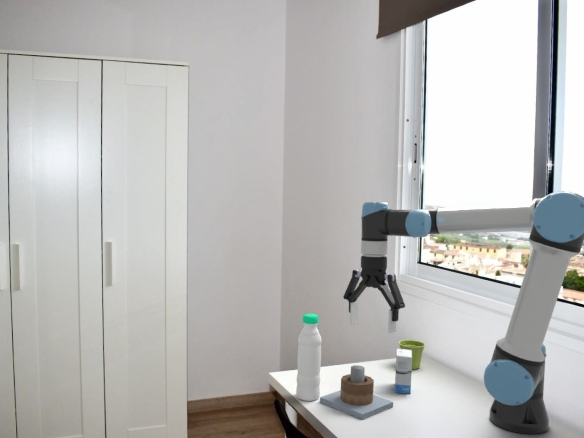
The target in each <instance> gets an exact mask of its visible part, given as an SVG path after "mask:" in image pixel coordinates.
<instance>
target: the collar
mask: <svg viewBox="0 0 584 438" xmlns="http://www.w3.org/2000/svg"><path fill="white" fill-rule="evenodd" d="M350 377H351V373H349V374H345V375H342V377H341V378H340V390H341V395H340V399H341V400H342V401H343V402H344V403H347V404H349V405H356V406H364V405H369V404H371V403H372V401H373V395H374V387H375V386H374V384H375V383H374V382H375V379H373V377H371V376H369V375H366V374H364V383H355V382H351V381H350Z"/></svg>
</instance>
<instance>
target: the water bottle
mask: <svg viewBox="0 0 584 438" xmlns="http://www.w3.org/2000/svg"><path fill="white" fill-rule="evenodd" d="M319 319H320V318H319V316H318V315H317V314H315V313H307V314H303V316H302V324H303V328H302V329H301V331H300V333H299V335H298V338H297V341H298V347H297V359H296V360H297V362H296V363H297V373H296V374H297V375H296V389H295V390H296V391H295V393H296V394H295V395H296V397H297V399H299V400H301V401H303V402H304V401H305V402H313V401H316V400H318V399H320V397H321V396H320V394H321V392H320V390H321V389H320V384H321V374H320V373H321V364H322V345H321V344H322V336H321V334H320V330H319V329H318V324H319Z"/></svg>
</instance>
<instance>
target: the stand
mask: <svg viewBox="0 0 584 438" xmlns="http://www.w3.org/2000/svg"><path fill="white" fill-rule="evenodd" d="M365 368H366V367H364V366H363V365H355V364H354V365H351V366H350V374H351V377H350V381H351V382H355V383H364V375H365V371H366V369H365ZM340 395H341V389H340V390H338V391H334V392H331V393H328V394H325V395H323V396H319V403H320V404H323V405H326V406H328V407H331V408H334V409H335V410H339V411H341V412H343V413H345V414H348V415H351V416H353V417H356V418H357V419H361V420H365V419H368V418H370V417H372V416H374V415H377V414H380V413H382V412H385V411H386V410H389V409H391V408H394V401H392V400H389V399H387V398H383V397H380V396H378V395H375V394H373V401H372V403H371V404H369V405H364V406H356V405H349V404H347V403H344V402H343V401H342V400H341V399H340Z"/></svg>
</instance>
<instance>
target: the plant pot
mask: <svg viewBox="0 0 584 438" xmlns="http://www.w3.org/2000/svg"><path fill="white" fill-rule="evenodd" d="M398 345H399V349H405V350H412V370H418V369H420V368H421V362H422V357H423V351H424V349H425V348H424V347H426V343H424V342H423V341H419V340H413V339H404V340H403V339H402V340H399V341H398Z"/></svg>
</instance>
